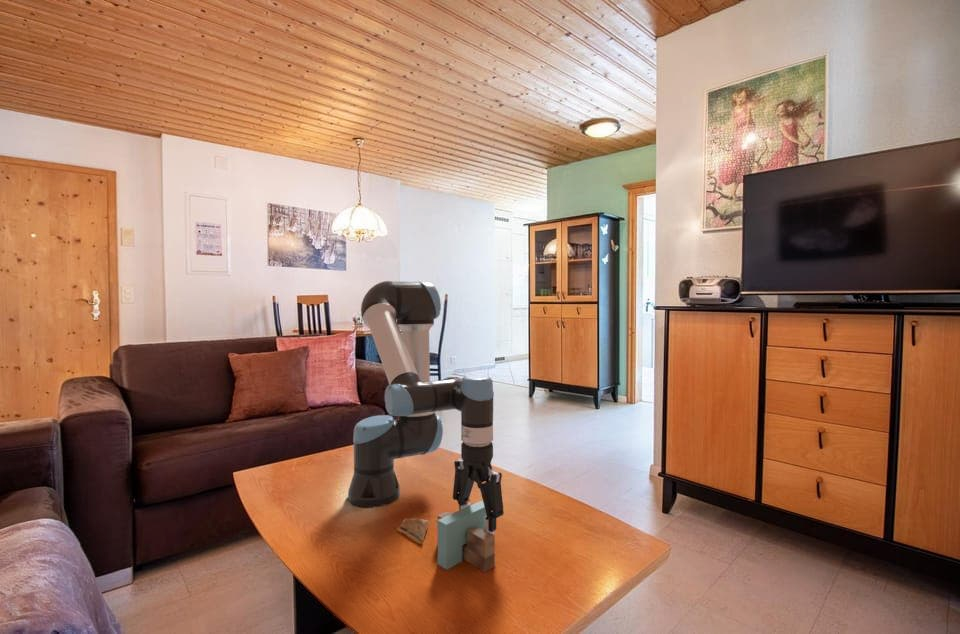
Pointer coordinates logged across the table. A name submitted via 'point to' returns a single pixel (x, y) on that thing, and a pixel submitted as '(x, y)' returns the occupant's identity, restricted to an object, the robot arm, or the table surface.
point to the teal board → (457, 533)
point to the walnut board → (478, 547)
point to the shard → (414, 529)
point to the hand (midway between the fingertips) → (477, 537)
